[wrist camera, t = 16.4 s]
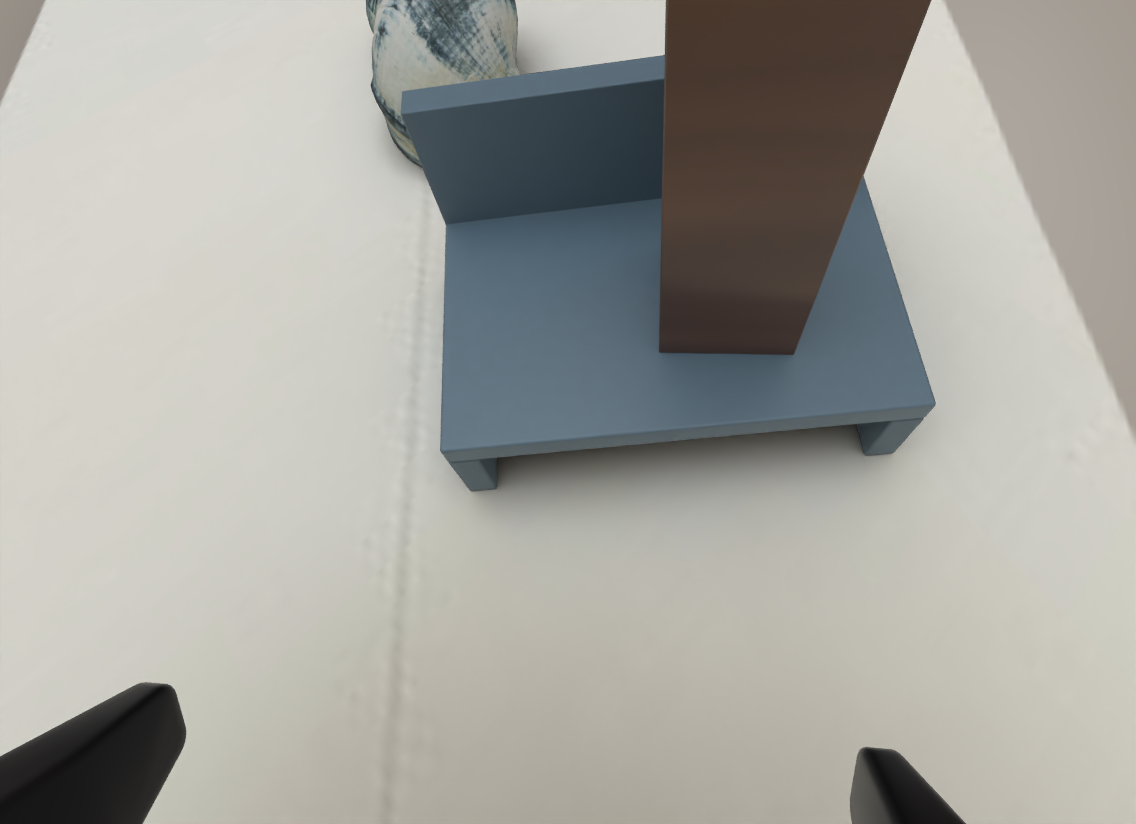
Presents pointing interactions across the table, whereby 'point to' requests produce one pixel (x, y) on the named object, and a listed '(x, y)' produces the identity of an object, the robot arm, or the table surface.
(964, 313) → the table surface
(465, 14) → the seashell
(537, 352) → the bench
